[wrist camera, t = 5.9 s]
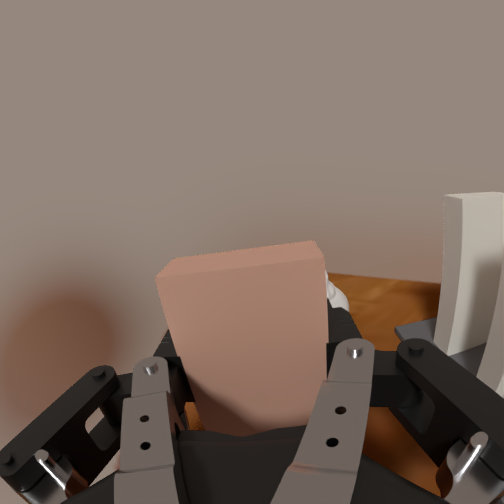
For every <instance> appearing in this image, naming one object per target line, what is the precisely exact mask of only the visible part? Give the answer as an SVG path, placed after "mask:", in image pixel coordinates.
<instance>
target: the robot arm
mask: <svg viewBox="0 0 504 504" xmlns="http://www.w3.org/2000/svg"><path fill="white" fill-rule="evenodd" d="M327 310H328V340H329V343H326V365H327V381H326V380H323V381H322V383H321V386H320V389H319V392H318V396H317V399H316V401H315V404H314V407H313V410H312V413H311V416H310V419H309V421H308V424H307V425H303V426H295V427H286V428H276V429H272V430H269V431H265V432H261V433H257V434H253V435H249V436H242V437H241V436H235V435H229V434H224V433H219V432H214V431H193V430H190V427H189V422H188V417H187V412H186V410H185V407H184V406H185V403H186V402H196V401H195V398H194V395H193V393H192V390H191V387H190V384H189V382H188V379H187V376H186V373H185V370H184V367H183V364H182V361H181V358H180V356H177V353H176V350H175V347H174V344H173V340H172V337H171V334H170V331H169V330H168V331H167V333H166V334H165V336H164V338H163V340H162V341H161V343H160V345H159V346H158V348H157V350H156V352H155V353H154V355H153V357H149V358H145V359H143V360H141V361H140V362H138V363H137V364H136V365H135V366H134V368H133V373H128V374H123V375H117V374H116V372H115V370H114V368H113V367H111V366H106V365H104V366H98V367H96V368H93V369H91V370H90V371H89V372H88V373H86V374H85V375H84V376H83V377H82V378H81V379H80V380H78V381H77V382H76V383H75V384H74V385H73V386H72V387H70V388H69V389H68V390H67V391H66V392H65V393H64V394H63V395H61V396H60V397H59V398H58V399H57V400H56V401H55V402H54V403H52V404H51V405H50V406H49V407H48V408H47V409H46V410H45V411H44V412H42V413H41V414H40V415H39V416H38V417H37V418H36V419H35V420H33V421H32V422H31V423H30V424H29V425H28V426H27V427H26V428H25V429H24V430H22V431H21V432H20V433H19V434H18V435H17V436H16V437H15V438H14V439H13V440H11V441H10V442H9V443H8V444H7V445H6V446H5V447H4V448H3V449H2V450H1V451H0V476H1V477H2V478H3V479H4V480H5V481H6V482H7V483H8V484H9V485H10V487H11V488H12V489H13V490H14V491H15V492H16V493H17V494H18V495H19V496H20V497H22V498H23V499H24V500H25V501H26V502H27V503H28V504H496V503H497V502H498V501H499V500H500V499H501V498H502V497H503V496H504V398H503V397H501V396H500V395H499V394H497V393H496V392H495V391H494V390H492V389H491V388H490V387H489V386H487V385H486V384H485V383H483V382H482V381H481V380H479V379H478V378H477V377H476V376H474V375H473V374H472V373H470V372H469V371H468V370H466V369H465V368H464V367H463V366H461V365H460V364H459V363H457V362H456V361H455V360H453V359H452V358H451V357H449V356H448V355H447V354H445V353H444V352H443V351H441V350H440V349H439V348H437V347H436V346H434V345H433V344H432V343H430V342H429V341H427V340H425V339H421V338H410V339H406V340H404V341H402V342H401V343H400V344H399V345H398V347H397V351H378V350H375V348H374V345H373V344H372V343H371V342H369V341H367V340H365V339H363V338H362V336H361V335H360V333H359V331H358V329H357V327H356V325H355V324H354V321H353V319H352V317H351V315H350V314H349V312H348V311H347V310H345V309H344V308H342V307H337V308H332V305H331V303H330V301H329V299H328V298H327ZM98 407H99V408H100V410H101V411H102V413H103V415H104V418H103V419H102V420H101V421H100V422H99V423H98V424H97V425H96V426H95V427H94V428H93V429H92V430H91V431H90V433H89V434H88V433H87V431H86V429H85V422H86V420H87V419H88V417H90V415H91V414H92V413H93V412H94V411H95V410H96V409H97V408H98ZM369 407H389V410H390V411H391V412H392V413H393V415H394V416H395V417H396V418H397V419H398V420H399V422H400V423H401V424H402V425H403V426H404V427H405V429H406V430H407V431H408V432H409V433H410V435H411V436H412V437H413V438H414V439H415V440H416V442H417V443H418V444H419V445H420V446H421V448H422V449H423V450H424V451H425V452H426V453H427V455H428V456H429V457H430V458H431V459H432V461H433V462H434V463H435V464H436V465H437V466H438V468H439V469H438V470H437V473H436V484H437V486H438V488H439V490H440V493H441V497H439V496H437V495H435V494H433V493H431V492H429V491H427V490H425V489H423V488H421V487H419V486H417V485H416V484H414V483H412V482H410V481H408V480H406V479H405V478H403V477H401V476H399V475H397V474H396V473H394V472H392V471H390V470H389V469H387V468H385V467H384V466H382V465H380V464H379V463H377V462H375V461H374V460H372V459H370V458H369V457H367V456H366V455H364V454H362V448H363V442H364V437H365V431H366V424H367V418H368V411H369ZM119 449H120V469H118V470H117V471H115V472H113V473H112V474H110V475H108V476H107V477H105V478H104V479H102V480H100V481H98V482H97V483H95V484H93V485H92V486H90V484H91V483H92V482H93V481H94V480H95V478H96V477H97V476H98V475H99V473H100V472H101V471H102V470H103V468H104V467H105V466H106V465H107V464H108V462H109V461H110V460H111V459H112V458H113V456H114V455H115V454H116V453H117V452H118V450H119ZM89 486H90V487H89Z"/></svg>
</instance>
